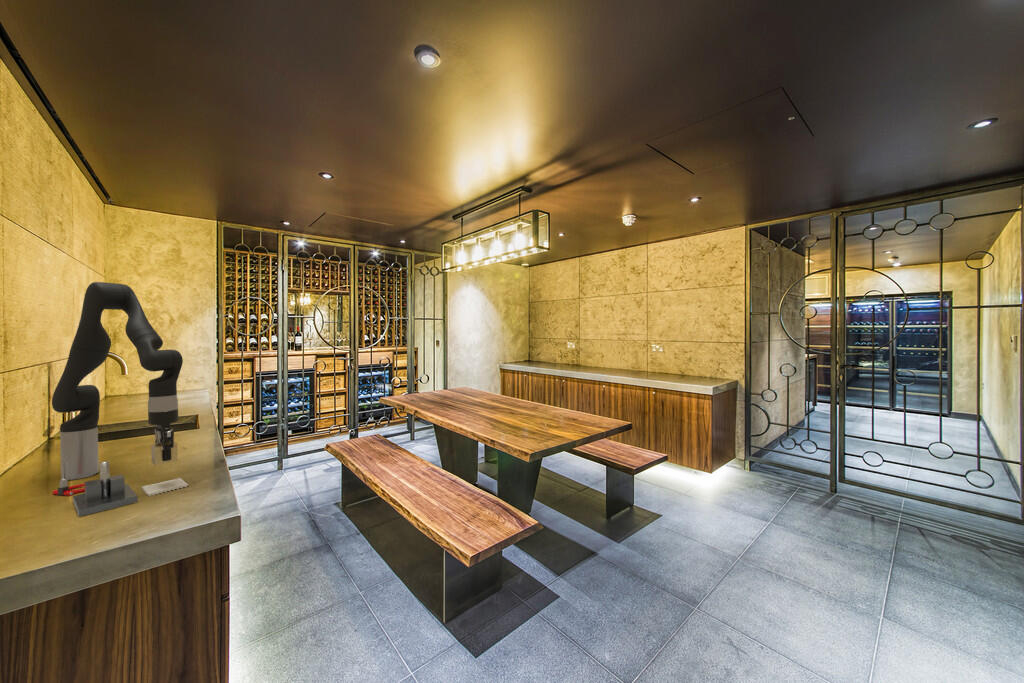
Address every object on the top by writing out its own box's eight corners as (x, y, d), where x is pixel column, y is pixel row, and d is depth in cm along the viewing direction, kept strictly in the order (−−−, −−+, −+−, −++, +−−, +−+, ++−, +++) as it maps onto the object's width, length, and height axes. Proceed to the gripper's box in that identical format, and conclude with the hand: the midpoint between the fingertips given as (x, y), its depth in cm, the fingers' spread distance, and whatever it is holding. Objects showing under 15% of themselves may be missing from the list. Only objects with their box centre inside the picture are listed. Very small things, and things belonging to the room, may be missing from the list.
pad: (141, 489, 129) (141, 486, 129) (180, 480, 137) (180, 477, 137) (148, 496, 123) (148, 494, 123) (188, 486, 131) (188, 484, 131)
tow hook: (85, 485, 134) (49, 495, 125) (86, 448, 134) (51, 455, 125) (105, 487, 132) (70, 497, 123) (106, 449, 133) (72, 456, 124)
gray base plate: (73, 502, 119) (72, 462, 119) (127, 489, 129) (126, 452, 128) (79, 517, 109) (78, 473, 109) (137, 502, 119) (136, 462, 119)
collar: (151, 462, 129) (151, 444, 129) (173, 457, 134) (172, 440, 134) (155, 465, 126) (155, 447, 126) (177, 460, 130) (177, 443, 130)
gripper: (143, 408, 131) (144, 457, 131) (153, 413, 122) (154, 466, 123) (172, 405, 137) (173, 452, 137) (183, 409, 128) (184, 459, 128)
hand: (164, 458), depth 130 cm, fingers closed on collar, 5 cm apart
